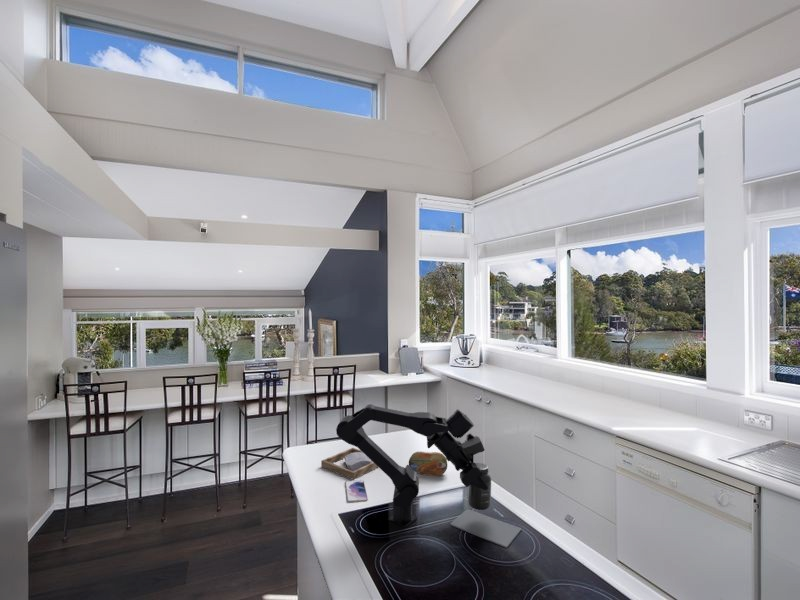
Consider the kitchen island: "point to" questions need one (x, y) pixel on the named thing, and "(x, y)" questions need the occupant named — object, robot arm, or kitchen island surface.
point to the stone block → (356, 460)
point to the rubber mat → (486, 527)
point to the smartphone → (355, 491)
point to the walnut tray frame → (343, 471)
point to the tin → (428, 463)
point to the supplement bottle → (480, 491)
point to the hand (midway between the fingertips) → (484, 483)
